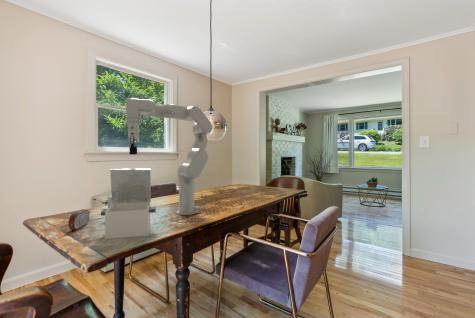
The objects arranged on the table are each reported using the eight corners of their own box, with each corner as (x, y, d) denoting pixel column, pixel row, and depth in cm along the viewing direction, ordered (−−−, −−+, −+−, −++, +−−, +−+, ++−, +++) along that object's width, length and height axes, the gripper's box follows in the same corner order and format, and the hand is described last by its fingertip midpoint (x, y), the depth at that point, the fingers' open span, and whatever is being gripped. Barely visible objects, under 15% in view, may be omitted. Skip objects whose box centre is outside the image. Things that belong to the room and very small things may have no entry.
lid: (150, 202, 131) (150, 199, 133) (150, 169, 126) (150, 167, 128) (112, 203, 125) (113, 201, 128) (110, 169, 120) (111, 167, 123)
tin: (84, 223, 132) (84, 207, 132) (90, 222, 132) (90, 207, 132) (67, 232, 117) (67, 214, 117) (74, 232, 117) (74, 214, 117)
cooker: (155, 223, 132) (155, 201, 131) (155, 234, 115) (155, 209, 114) (106, 227, 125) (106, 204, 124) (97, 239, 108) (97, 212, 107)
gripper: (139, 119, 127) (139, 154, 128) (141, 123, 143) (141, 154, 144) (123, 119, 125) (123, 154, 125) (127, 122, 141) (128, 154, 142)
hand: (133, 154), depth 135 cm, fingers open, 5 cm apart
